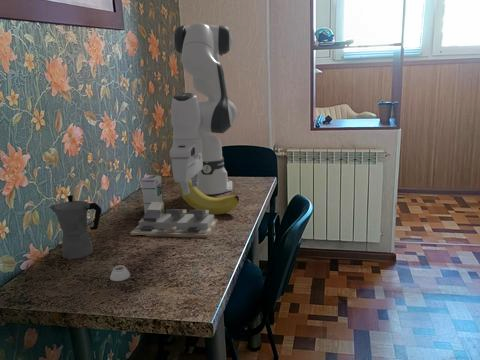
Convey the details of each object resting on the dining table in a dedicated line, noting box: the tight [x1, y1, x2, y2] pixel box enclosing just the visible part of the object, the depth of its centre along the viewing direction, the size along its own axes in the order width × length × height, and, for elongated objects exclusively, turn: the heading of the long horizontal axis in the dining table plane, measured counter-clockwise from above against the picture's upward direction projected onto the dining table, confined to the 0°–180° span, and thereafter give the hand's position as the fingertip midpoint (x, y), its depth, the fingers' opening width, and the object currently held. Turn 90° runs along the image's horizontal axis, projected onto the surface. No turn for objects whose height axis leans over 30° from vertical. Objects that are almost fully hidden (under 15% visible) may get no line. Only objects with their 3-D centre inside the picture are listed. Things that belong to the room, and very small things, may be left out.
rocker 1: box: [142, 202, 165, 221], centre depth 150 cm, size 9×4×2 cm, turn 170°
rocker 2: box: [165, 208, 188, 217], centre depth 148 cm, size 9×4×2 cm, turn 170°
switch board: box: [129, 218, 219, 239], centre depth 147 cm, size 15×26×2 cm, turn 80°
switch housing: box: [138, 212, 215, 229], centre depth 149 cm, size 9×24×2 cm, turn 80°
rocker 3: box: [188, 209, 209, 218], centre depth 147 cm, size 9×4×2 cm, turn 170°
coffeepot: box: [49, 194, 103, 260], centre depth 128 cm, size 15×9×18 cm, turn 85°
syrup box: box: [140, 174, 166, 214], centre depth 162 cm, size 6×6×14 cm
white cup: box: [109, 264, 131, 282], centre depth 113 cm, size 5×3×5 cm
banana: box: [178, 178, 240, 215], centre depth 159 cm, size 23×6×20 cm, turn 78°
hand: (190, 190), depth 137 cm, fingers open, 8 cm apart
